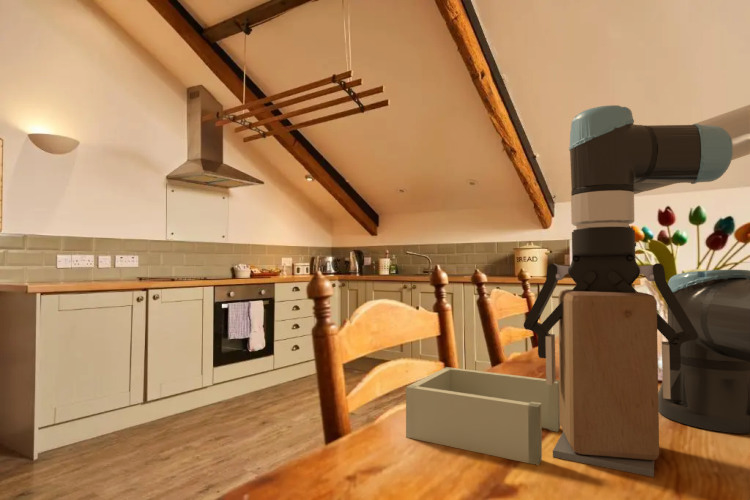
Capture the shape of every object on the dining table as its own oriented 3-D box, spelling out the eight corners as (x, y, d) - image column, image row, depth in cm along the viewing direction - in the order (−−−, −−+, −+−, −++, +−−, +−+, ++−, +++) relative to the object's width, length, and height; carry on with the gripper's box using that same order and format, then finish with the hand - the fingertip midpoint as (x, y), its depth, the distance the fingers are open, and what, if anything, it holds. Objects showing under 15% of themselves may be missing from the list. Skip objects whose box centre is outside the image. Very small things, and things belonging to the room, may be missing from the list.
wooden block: (662, 464, 55) (659, 294, 56) (571, 456, 58) (570, 292, 58) (635, 434, 65) (633, 289, 66) (558, 428, 67) (557, 288, 68)
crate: (560, 428, 70) (559, 380, 70) (538, 465, 57) (538, 406, 57) (446, 408, 79) (446, 367, 79) (406, 437, 66) (406, 386, 66)
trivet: (654, 445, 63) (653, 439, 63) (653, 477, 54) (653, 470, 54) (566, 430, 69) (566, 424, 69) (552, 456, 59) (552, 450, 59)
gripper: (715, 224, 59) (719, 395, 58) (514, 232, 72) (516, 372, 71) (722, 220, 53) (727, 411, 52) (500, 229, 65) (502, 383, 65)
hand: (605, 389), depth 62 cm, fingers open, 13 cm apart
